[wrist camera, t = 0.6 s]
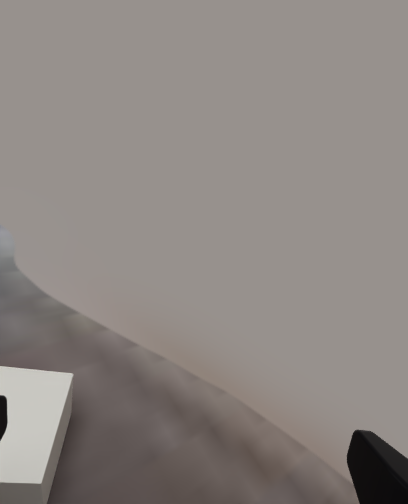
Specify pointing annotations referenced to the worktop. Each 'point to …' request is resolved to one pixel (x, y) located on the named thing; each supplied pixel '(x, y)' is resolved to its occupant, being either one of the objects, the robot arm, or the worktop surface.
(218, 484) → the worktop surface
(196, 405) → the worktop surface
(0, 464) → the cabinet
